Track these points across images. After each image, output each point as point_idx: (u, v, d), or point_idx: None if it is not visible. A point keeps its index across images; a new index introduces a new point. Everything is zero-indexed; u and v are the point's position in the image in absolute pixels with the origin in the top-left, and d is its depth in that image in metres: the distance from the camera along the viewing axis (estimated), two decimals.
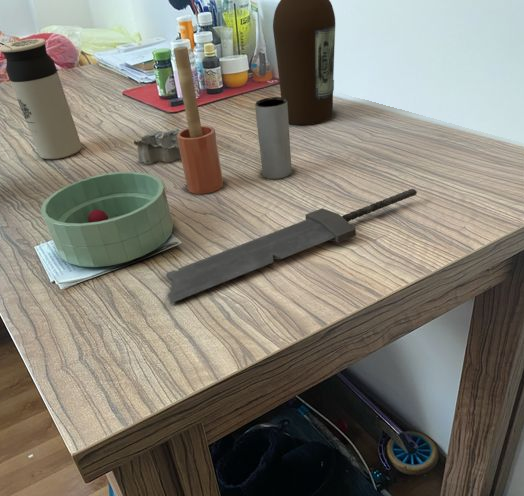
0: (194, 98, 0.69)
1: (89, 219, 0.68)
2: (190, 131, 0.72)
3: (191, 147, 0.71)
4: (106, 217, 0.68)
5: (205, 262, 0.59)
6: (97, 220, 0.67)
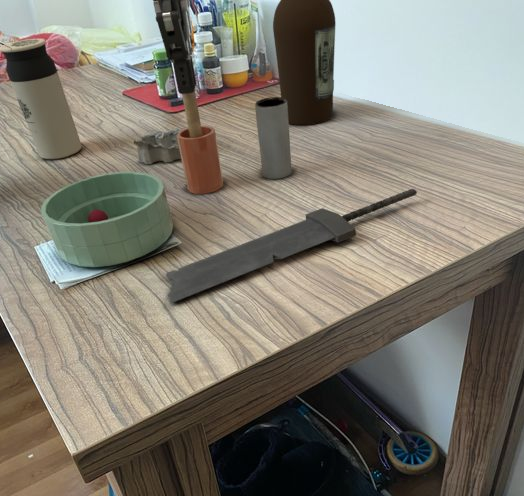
0: (194, 98, 0.69)
1: (89, 219, 0.68)
2: (190, 131, 0.72)
3: (191, 147, 0.71)
4: (106, 217, 0.68)
5: (205, 261, 0.59)
6: (97, 220, 0.67)
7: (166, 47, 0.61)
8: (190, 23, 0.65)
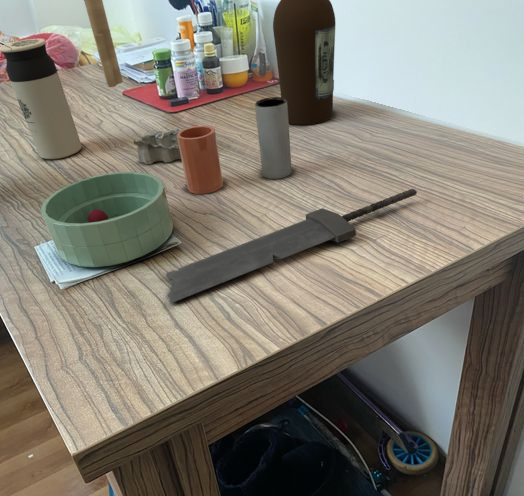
0: None
1: (89, 219, 0.68)
2: (85, 1, 0.52)
3: (191, 147, 0.71)
4: (106, 217, 0.68)
5: (205, 261, 0.59)
6: (97, 220, 0.67)
7: None
8: None
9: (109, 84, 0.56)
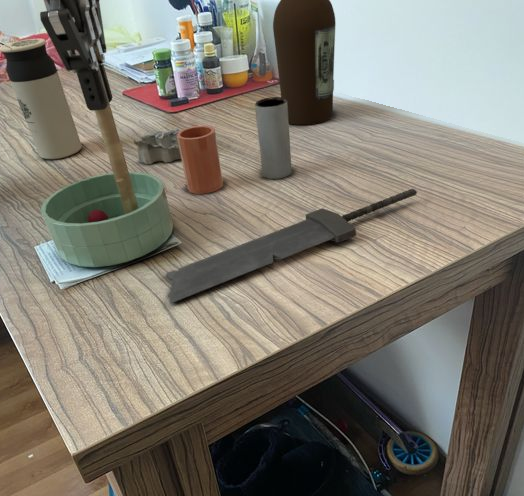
0: (109, 115, 0.57)
1: (89, 219, 0.68)
2: (108, 154, 0.60)
3: (191, 147, 0.71)
4: (106, 217, 0.68)
5: (205, 262, 0.59)
6: (97, 220, 0.67)
7: (61, 55, 0.49)
8: (97, 25, 0.53)
9: None
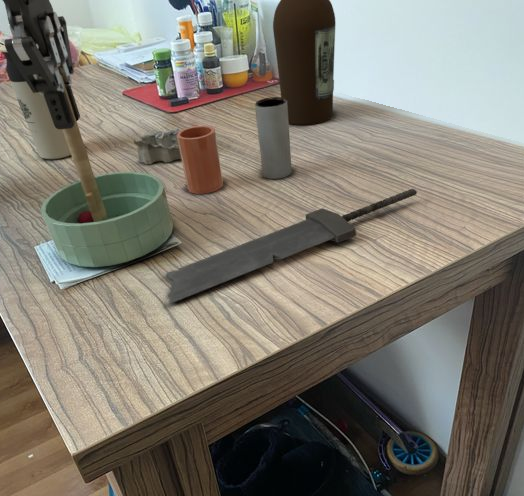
0: (77, 133, 0.60)
1: None
2: (77, 170, 0.62)
3: (191, 147, 0.71)
4: (88, 213, 0.68)
5: (205, 262, 0.59)
6: (83, 222, 0.67)
7: (26, 78, 0.52)
8: (62, 48, 0.55)
9: None
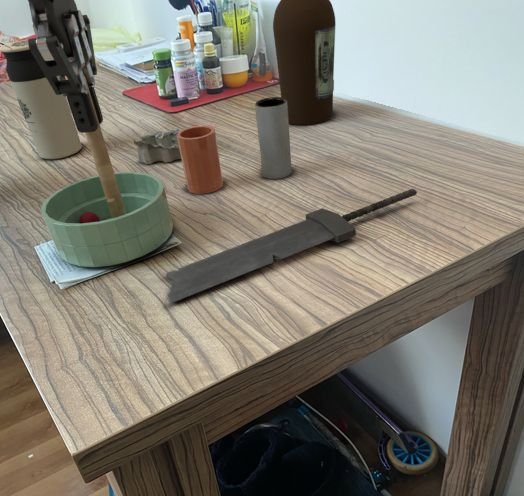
0: (99, 137, 0.57)
1: None
2: (99, 174, 0.60)
3: (191, 147, 0.71)
4: (91, 216, 0.67)
5: (205, 262, 0.59)
6: None
7: (49, 80, 0.49)
8: (86, 48, 0.53)
9: None
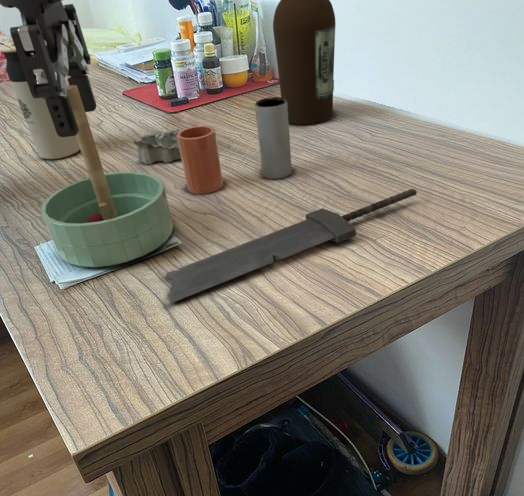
0: (91, 143, 0.59)
1: None
2: (91, 180, 0.62)
3: (191, 147, 0.71)
4: None
5: (205, 262, 0.59)
6: None
7: (26, 74, 0.48)
8: (79, 50, 0.55)
9: None
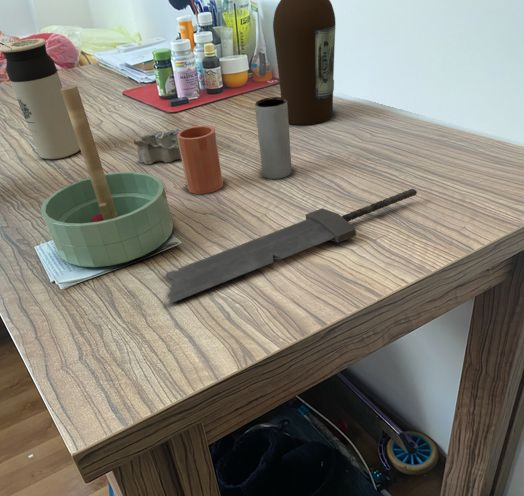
0: (91, 143, 0.59)
1: None
2: (91, 180, 0.62)
3: (191, 147, 0.71)
4: None
5: (205, 262, 0.59)
6: None
7: None
8: None
9: None
